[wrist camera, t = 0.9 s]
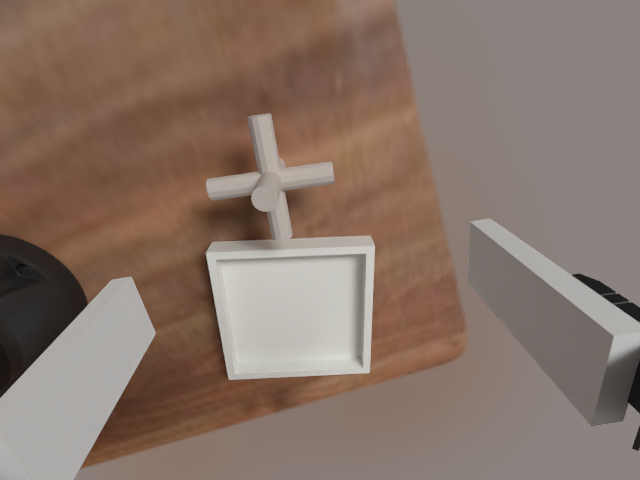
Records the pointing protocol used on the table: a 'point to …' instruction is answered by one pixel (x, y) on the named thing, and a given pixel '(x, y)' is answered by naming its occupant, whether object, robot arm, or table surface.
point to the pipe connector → (270, 178)
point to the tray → (294, 305)
